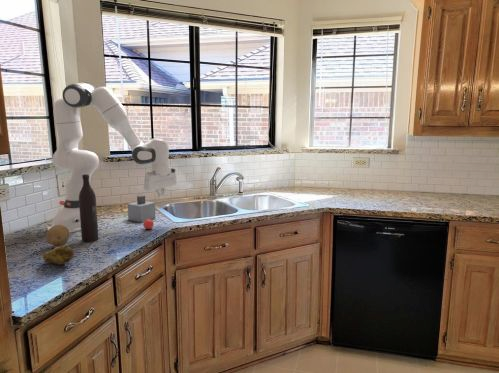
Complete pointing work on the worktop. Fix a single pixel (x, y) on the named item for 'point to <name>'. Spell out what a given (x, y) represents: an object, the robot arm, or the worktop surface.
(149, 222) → the ball
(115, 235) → the worktop surface
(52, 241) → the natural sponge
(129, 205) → the cover
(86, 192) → the wine bottle
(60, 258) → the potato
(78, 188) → the robot arm
